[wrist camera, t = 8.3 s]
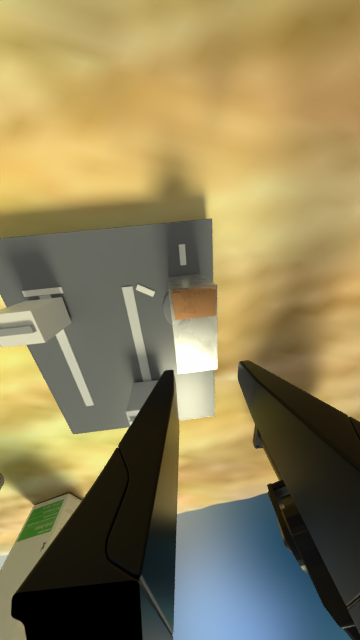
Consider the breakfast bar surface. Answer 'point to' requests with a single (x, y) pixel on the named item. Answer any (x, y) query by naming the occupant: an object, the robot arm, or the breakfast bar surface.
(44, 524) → the skincare box
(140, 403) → the fader
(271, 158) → the breakfast bar surface
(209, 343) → the dial
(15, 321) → the fader
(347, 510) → the robot arm
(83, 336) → the console
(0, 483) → the pillar candle
